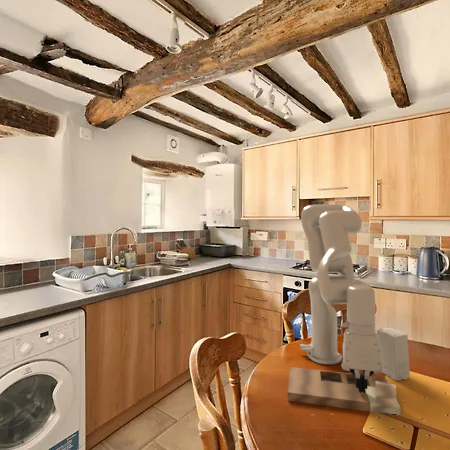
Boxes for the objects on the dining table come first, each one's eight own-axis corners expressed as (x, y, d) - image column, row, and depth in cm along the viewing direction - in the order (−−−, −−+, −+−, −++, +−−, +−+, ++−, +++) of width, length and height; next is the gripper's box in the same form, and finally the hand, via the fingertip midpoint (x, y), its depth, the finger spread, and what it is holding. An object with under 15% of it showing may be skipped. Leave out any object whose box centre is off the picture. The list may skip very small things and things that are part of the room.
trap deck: (287, 400, 89) (287, 392, 89) (290, 374, 104) (289, 366, 104) (400, 415, 81) (400, 406, 81) (384, 384, 97) (384, 377, 97)
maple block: (375, 403, 82) (375, 389, 82) (375, 394, 87) (375, 380, 87) (396, 408, 80) (396, 393, 80) (395, 398, 85) (395, 384, 85)
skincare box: (410, 379, 100) (409, 335, 100) (395, 381, 98) (394, 336, 98) (391, 367, 108) (390, 326, 108) (376, 369, 107) (376, 328, 106)
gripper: (335, 330, 85) (335, 394, 85) (393, 334, 82) (393, 401, 82) (332, 322, 93) (332, 381, 93) (385, 325, 89) (385, 386, 89)
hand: (361, 390), depth 87 cm, fingers closed
